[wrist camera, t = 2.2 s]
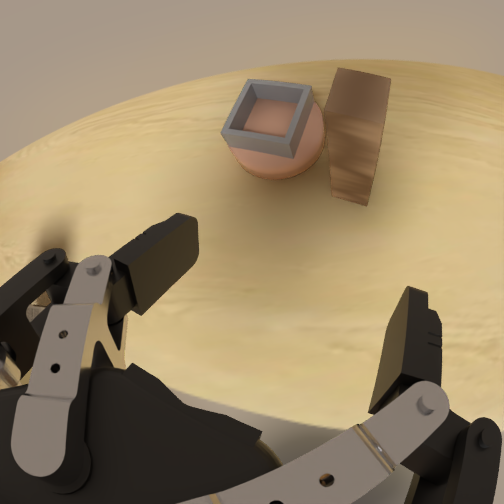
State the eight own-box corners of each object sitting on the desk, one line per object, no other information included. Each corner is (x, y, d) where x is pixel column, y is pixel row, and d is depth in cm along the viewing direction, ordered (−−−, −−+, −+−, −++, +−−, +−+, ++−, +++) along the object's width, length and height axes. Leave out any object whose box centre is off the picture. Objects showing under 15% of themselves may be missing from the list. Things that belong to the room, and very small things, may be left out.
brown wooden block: (375, 170, 27) (391, 78, 15) (366, 206, 27) (383, 124, 14) (342, 161, 28) (338, 67, 16) (331, 196, 28) (324, 110, 15)
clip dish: (334, 112, 30) (331, 79, 24) (309, 190, 28) (303, 162, 23) (252, 99, 33) (238, 69, 28) (220, 169, 32) (199, 143, 26)
